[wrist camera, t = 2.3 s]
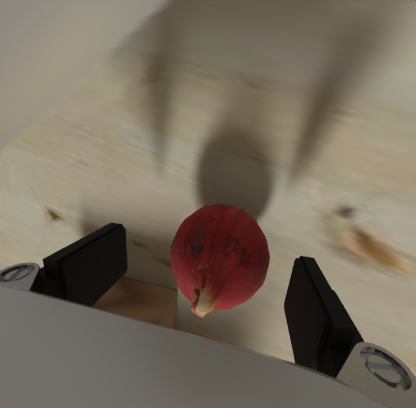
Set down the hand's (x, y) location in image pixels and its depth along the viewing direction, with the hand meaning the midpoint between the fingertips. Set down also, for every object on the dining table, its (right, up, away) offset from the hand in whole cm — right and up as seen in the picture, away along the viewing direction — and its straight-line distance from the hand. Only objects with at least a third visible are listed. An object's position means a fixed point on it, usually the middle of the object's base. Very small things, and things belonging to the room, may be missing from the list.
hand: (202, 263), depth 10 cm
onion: (+2, +1, +5) cm, 6 cm away
